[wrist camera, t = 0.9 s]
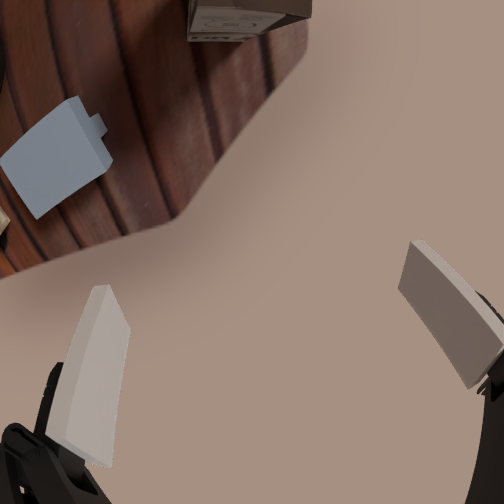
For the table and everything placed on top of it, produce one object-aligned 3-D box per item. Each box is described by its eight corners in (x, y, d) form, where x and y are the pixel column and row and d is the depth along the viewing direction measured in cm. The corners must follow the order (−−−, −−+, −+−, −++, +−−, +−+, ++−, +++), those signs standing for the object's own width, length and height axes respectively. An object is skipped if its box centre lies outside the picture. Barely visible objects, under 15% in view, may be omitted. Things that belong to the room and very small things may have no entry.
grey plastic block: (27, 140, 22) (-2, 160, 17) (90, 91, 22) (66, 99, 16) (57, 190, 27) (36, 219, 22) (120, 149, 27) (106, 171, 22)
